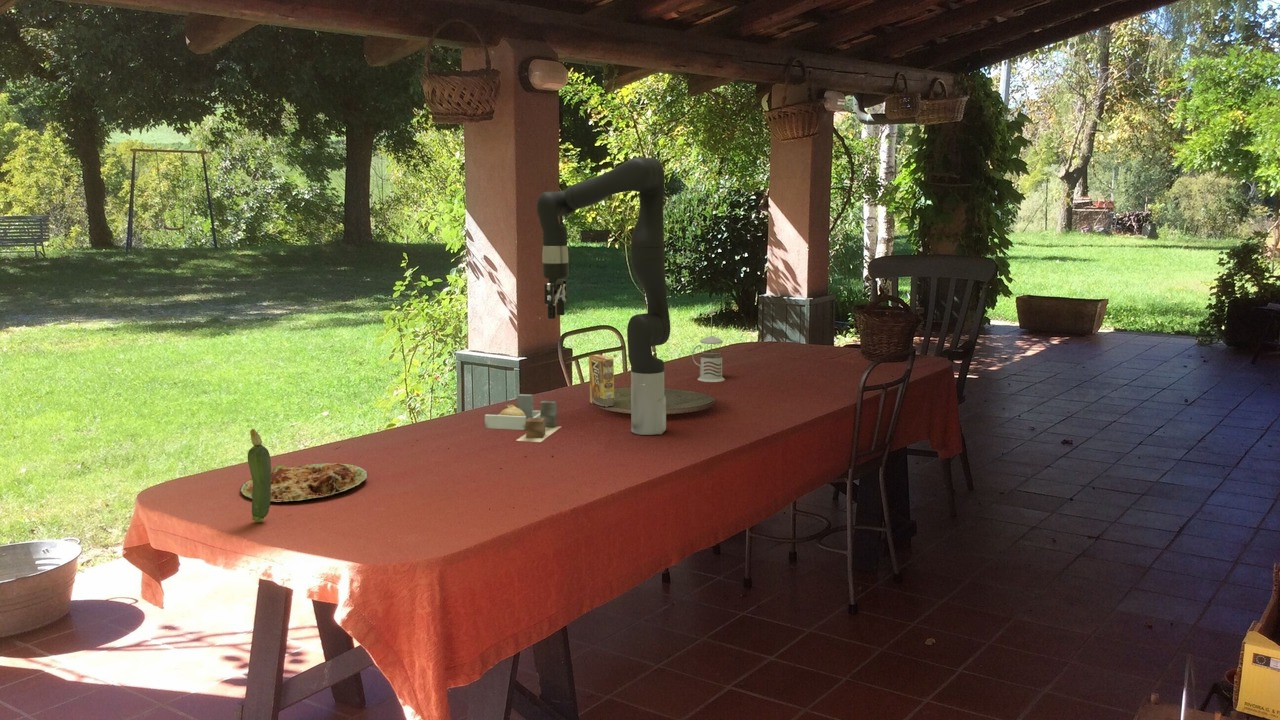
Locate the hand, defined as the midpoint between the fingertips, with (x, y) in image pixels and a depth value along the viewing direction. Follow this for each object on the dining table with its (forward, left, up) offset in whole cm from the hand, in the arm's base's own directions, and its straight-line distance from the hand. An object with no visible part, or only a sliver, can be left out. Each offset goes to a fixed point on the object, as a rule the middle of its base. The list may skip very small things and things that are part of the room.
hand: (556, 316), depth 298 cm
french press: (-34, -69, -30) cm, 83 cm away
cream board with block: (-2, +25, -30) cm, 39 cm away
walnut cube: (-2, +28, -29) cm, 40 cm away
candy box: (-8, -20, -30) cm, 37 cm away
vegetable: (+30, +105, -30) cm, 113 cm away
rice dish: (+35, +80, -31) cm, 93 cm away
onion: (+8, +17, -30) cm, 36 cm away
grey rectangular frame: (+9, +13, -30) cm, 34 cm away
